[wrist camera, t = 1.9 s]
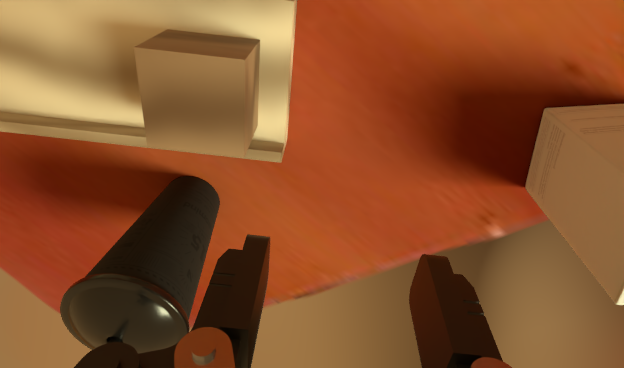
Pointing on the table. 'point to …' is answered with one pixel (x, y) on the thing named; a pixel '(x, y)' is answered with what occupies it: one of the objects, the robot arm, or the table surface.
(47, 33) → the board
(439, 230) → the table surface
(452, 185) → the table surface
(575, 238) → the supplement box
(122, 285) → the drinking cup
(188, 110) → the walnut block
